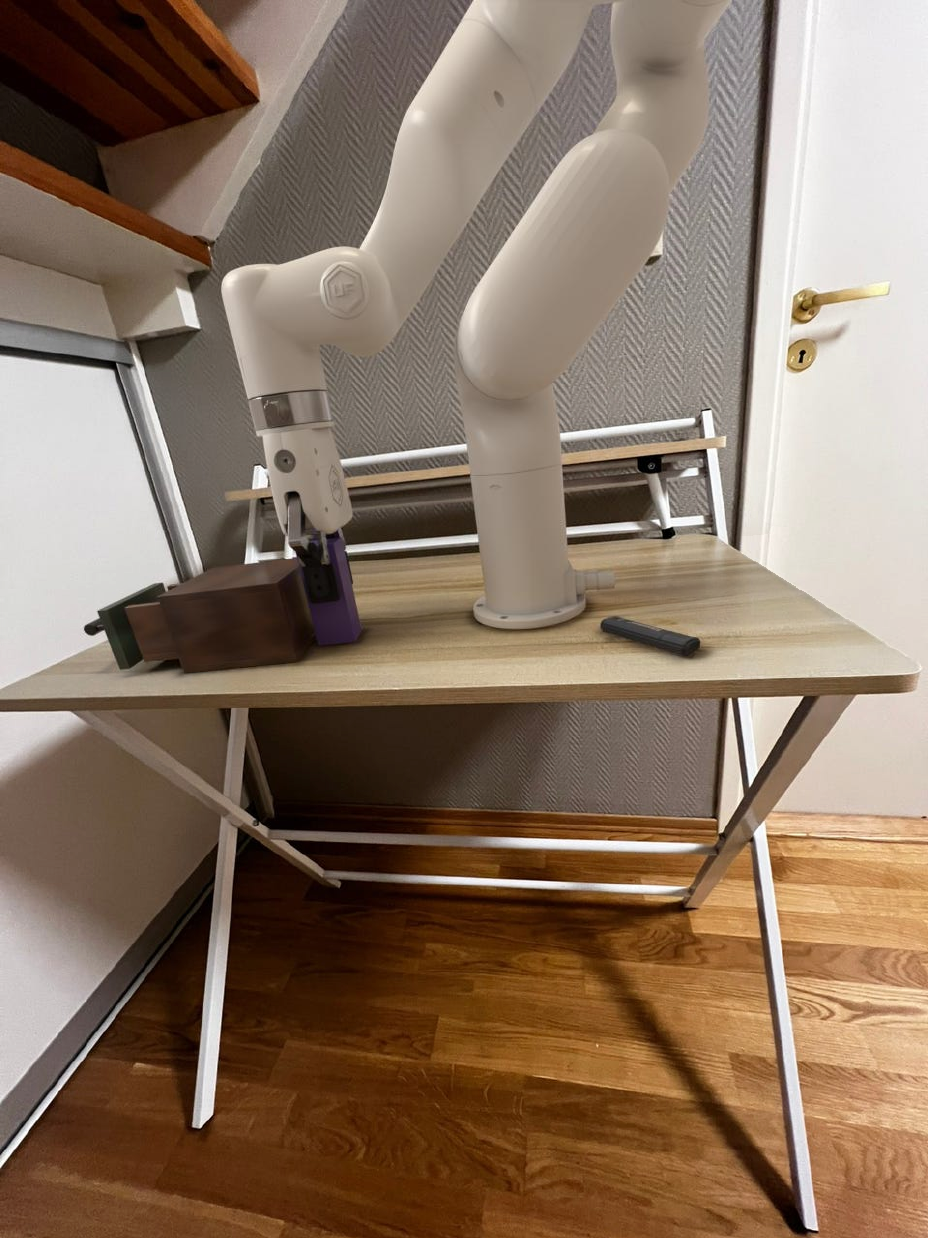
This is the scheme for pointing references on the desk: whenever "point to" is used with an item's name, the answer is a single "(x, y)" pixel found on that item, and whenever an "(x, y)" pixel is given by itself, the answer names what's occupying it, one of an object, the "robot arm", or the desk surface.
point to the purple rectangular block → (335, 603)
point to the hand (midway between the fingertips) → (332, 592)
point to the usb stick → (651, 636)
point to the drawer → (136, 627)
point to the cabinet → (240, 616)
